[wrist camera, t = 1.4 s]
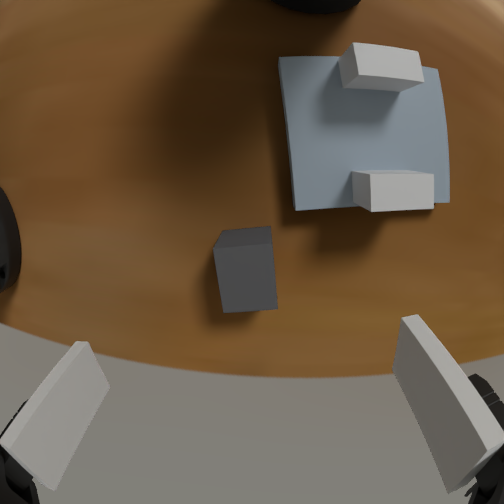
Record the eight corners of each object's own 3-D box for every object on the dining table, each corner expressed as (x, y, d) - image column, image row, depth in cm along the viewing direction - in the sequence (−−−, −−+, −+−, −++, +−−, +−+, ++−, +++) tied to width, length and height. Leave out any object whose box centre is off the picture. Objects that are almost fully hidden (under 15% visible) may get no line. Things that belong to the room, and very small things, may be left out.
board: (293, 206, 23) (302, 222, 17) (277, 65, 19) (282, 36, 14) (437, 198, 22) (476, 211, 16) (426, 73, 18) (463, 59, 13)
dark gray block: (230, 284, 26) (223, 312, 21) (222, 230, 24) (213, 248, 19) (275, 280, 25) (277, 309, 21) (270, 225, 24) (272, 243, 19)
